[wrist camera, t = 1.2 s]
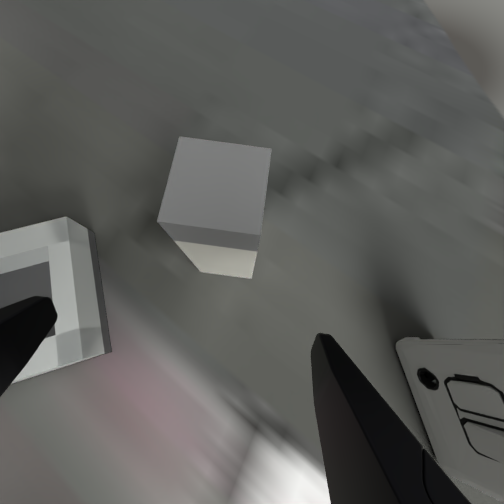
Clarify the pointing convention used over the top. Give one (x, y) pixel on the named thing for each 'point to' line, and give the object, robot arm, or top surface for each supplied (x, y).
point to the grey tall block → (216, 204)
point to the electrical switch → (461, 405)
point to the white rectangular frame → (57, 290)
